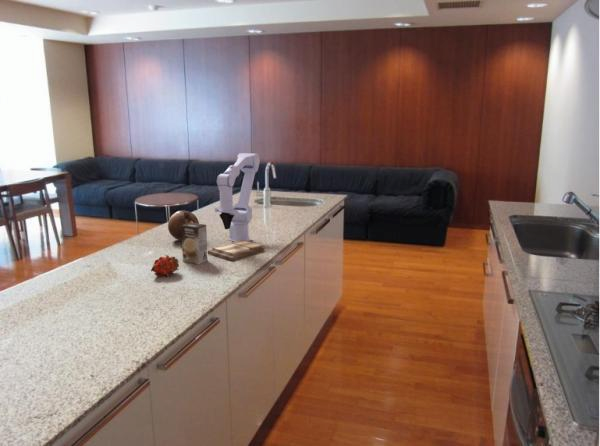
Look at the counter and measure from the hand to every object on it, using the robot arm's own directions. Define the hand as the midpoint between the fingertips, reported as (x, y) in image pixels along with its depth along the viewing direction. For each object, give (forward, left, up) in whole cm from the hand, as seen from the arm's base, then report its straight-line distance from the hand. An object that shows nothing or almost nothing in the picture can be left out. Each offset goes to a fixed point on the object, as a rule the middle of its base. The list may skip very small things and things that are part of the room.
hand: (227, 228), depth 228 cm
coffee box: (+4, -22, -10) cm, 24 cm away
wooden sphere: (-27, -5, -10) cm, 29 cm away
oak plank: (+8, -5, -8) cm, 12 cm away
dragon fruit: (+10, -41, -10) cm, 43 cm away
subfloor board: (+8, -2, -9) cm, 13 cm away
